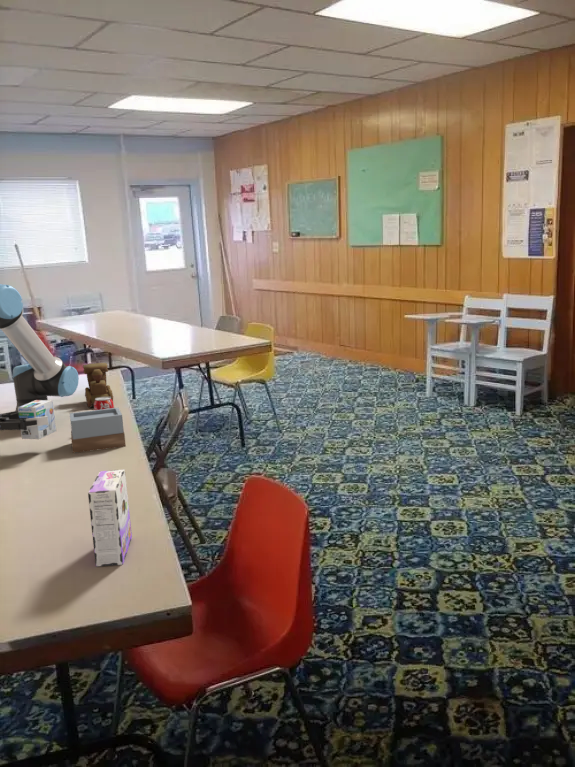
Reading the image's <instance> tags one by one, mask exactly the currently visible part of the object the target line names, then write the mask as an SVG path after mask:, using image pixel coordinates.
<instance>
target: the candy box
mask: <svg viewBox="0 0 575 767" xmlns="http://www.w3.org/2000/svg"><path fill="white" fill-rule="evenodd" d="M87 496H88V505H89V514H90V525H91V533H92V542H93V543H92V546H93V551H94V553H93V554H94V563H95V567H108V566H110V567H112V566H122V565H124V563H125V560H126V556H127V554H128V551H129V547H130V544H131V541H132V539H133V533H132V526H131V525H132V522H131V514H130V506H129V495H128V487H127V477H126V469H114V470H113V469H112V470H102V471H99V472H98V474H97V475H96V478H95V479H94V481H93V483H92V485H91V487H90V488H89V490H88V492H87Z"/></svg>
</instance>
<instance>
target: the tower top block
mask: <svg viewBox="0 0 575 767" xmlns="http://www.w3.org/2000/svg"><path fill="white" fill-rule="evenodd" d="M69 419H70V429H71V430H72V437H73V439H81V438H88V437H96V436H104V435H112V434H119V433H124V434H125V432H124V422H123V421H124V420H123V414H122V412H121V410H120V408H119V407H114V408H110V409H102V410H94V409H93V410H84V411H78V412H70V413H69Z"/></svg>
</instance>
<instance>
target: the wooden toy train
mask: <svg viewBox="0 0 575 767" xmlns="http://www.w3.org/2000/svg"><path fill="white" fill-rule="evenodd" d="M82 367H83V374H84V375H86V379H87V385H88V386H87V387H85V389H84V390H85V393H84V398H85V401H86V404H87V408H89V407H90V408H92V407H93V405H94V402H95V399H96V398H99V397H111V400H112V401H113V402H114V394H113V390H112V389H111V386H110V384H109V385H108V384H107V372H109V369H108V363H106V362H97V363H88V364H83V366H82Z"/></svg>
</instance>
